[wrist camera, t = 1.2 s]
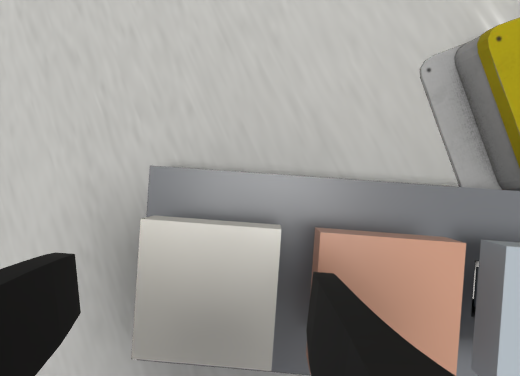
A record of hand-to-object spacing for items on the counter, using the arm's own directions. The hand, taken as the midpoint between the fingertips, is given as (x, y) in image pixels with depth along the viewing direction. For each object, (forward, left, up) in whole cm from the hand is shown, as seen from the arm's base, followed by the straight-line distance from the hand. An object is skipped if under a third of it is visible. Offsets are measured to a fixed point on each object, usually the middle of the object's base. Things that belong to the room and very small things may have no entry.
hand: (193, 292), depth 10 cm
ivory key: (-1, 0, -7) cm, 7 cm away
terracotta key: (-1, -7, -7) cm, 10 cm away
